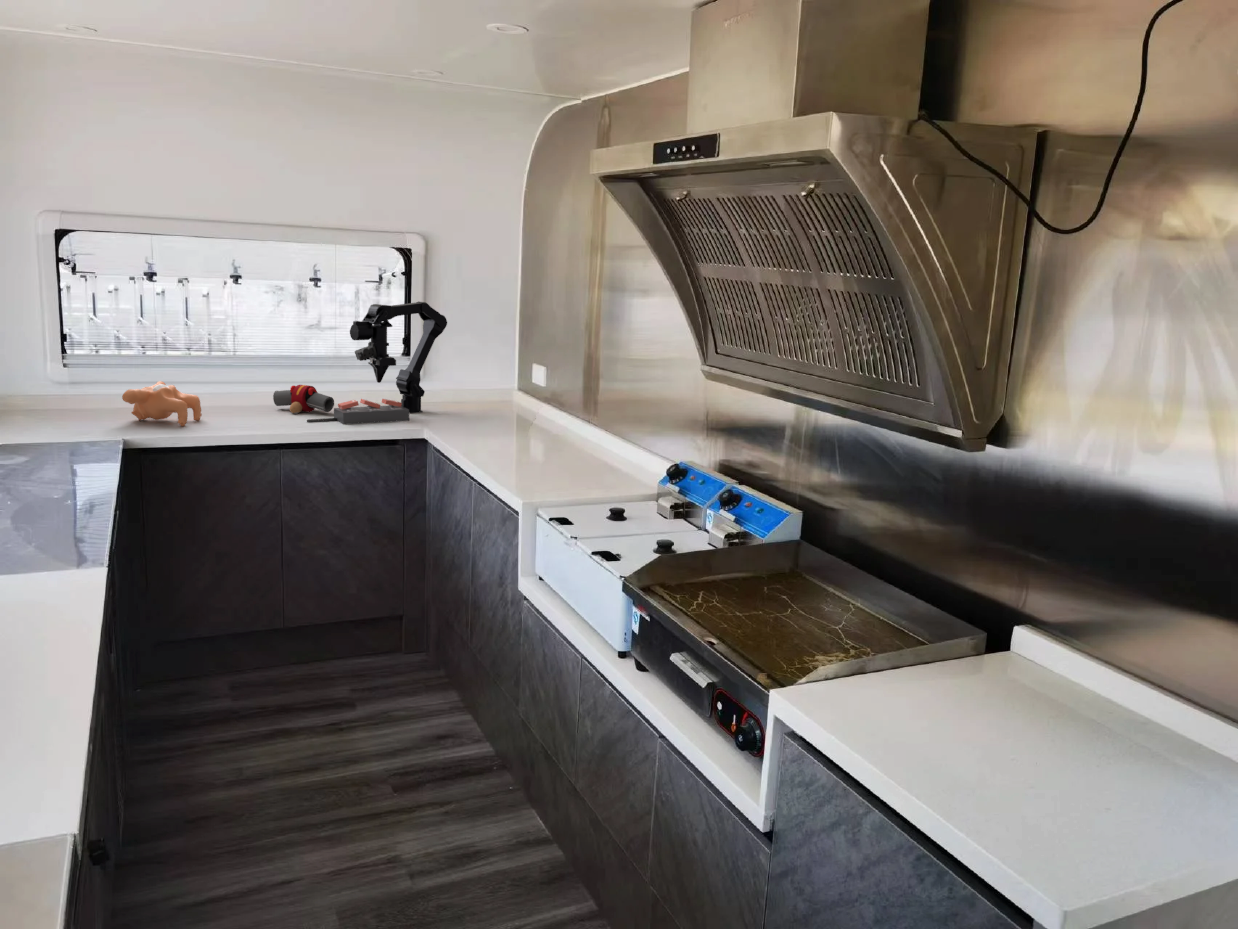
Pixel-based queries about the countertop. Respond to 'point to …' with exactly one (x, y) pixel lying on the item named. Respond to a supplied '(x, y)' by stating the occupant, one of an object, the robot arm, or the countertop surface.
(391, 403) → the red rectangular block
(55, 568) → the countertop surface
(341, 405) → the rocker
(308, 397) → the toy
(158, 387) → the figurine
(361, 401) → the plate
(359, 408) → the power strip
